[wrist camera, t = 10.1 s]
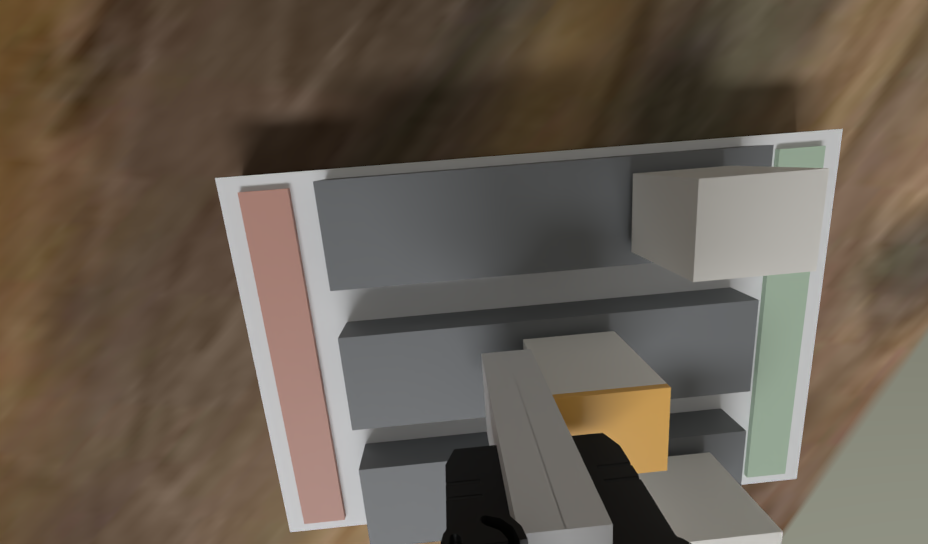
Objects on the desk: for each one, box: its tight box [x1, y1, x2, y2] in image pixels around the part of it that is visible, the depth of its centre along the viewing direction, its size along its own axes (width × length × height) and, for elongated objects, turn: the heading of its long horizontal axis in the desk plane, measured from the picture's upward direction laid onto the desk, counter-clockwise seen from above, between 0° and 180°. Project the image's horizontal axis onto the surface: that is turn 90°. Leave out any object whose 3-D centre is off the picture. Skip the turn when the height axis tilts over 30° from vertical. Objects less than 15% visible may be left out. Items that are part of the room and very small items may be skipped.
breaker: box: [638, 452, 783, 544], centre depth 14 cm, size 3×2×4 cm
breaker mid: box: [523, 331, 671, 474], centre depth 13 cm, size 3×2×4 cm
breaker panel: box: [215, 129, 843, 544], centre depth 17 cm, size 21×14×4 cm, turn 95°
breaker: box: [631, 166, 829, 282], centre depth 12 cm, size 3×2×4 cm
